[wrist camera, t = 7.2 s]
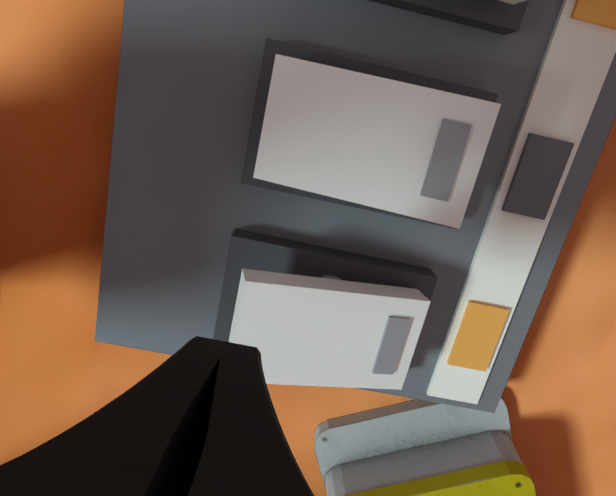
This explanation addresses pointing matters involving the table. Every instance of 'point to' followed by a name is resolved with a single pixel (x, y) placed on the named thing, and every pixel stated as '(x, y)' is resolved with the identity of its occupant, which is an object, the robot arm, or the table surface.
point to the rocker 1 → (373, 140)
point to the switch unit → (339, 213)
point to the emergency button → (421, 452)
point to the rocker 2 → (328, 329)
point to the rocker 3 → (512, 1)
